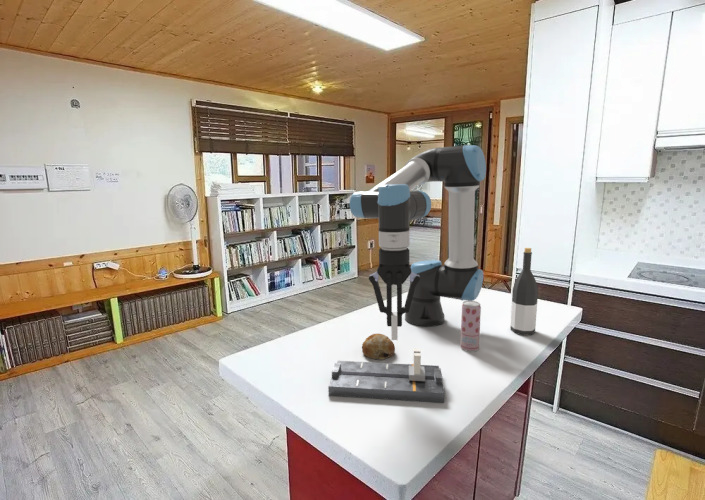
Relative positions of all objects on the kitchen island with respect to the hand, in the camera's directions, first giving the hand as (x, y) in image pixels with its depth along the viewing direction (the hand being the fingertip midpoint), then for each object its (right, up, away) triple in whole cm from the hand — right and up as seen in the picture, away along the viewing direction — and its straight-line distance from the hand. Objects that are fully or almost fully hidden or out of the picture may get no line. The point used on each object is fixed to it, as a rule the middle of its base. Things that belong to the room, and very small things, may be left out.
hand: (394, 337), depth 96 cm
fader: (+6, -10, 0) cm, 11 cm away
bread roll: (-3, -10, +21) cm, 23 cm away
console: (-2, -13, +1) cm, 13 cm away
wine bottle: (+50, -7, +37) cm, 62 cm away
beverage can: (+27, -9, +23) cm, 36 cm away
